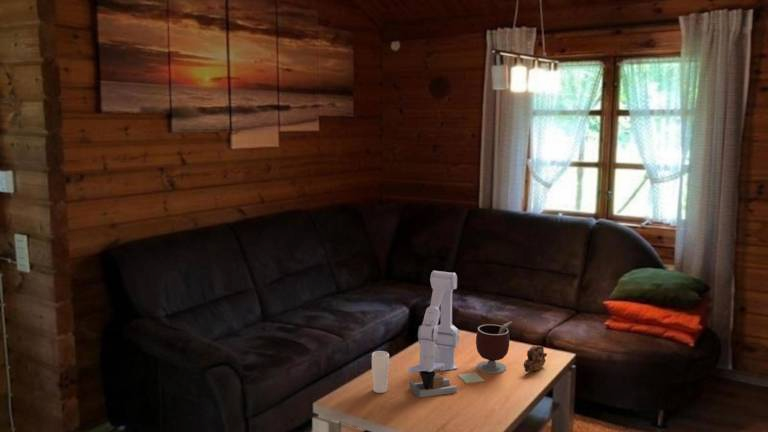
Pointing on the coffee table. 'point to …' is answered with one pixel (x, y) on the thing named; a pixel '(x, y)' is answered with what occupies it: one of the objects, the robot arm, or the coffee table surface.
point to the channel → (420, 392)
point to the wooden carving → (535, 358)
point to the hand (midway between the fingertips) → (426, 388)
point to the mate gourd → (492, 347)
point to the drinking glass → (380, 371)
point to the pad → (470, 378)
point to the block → (436, 381)
